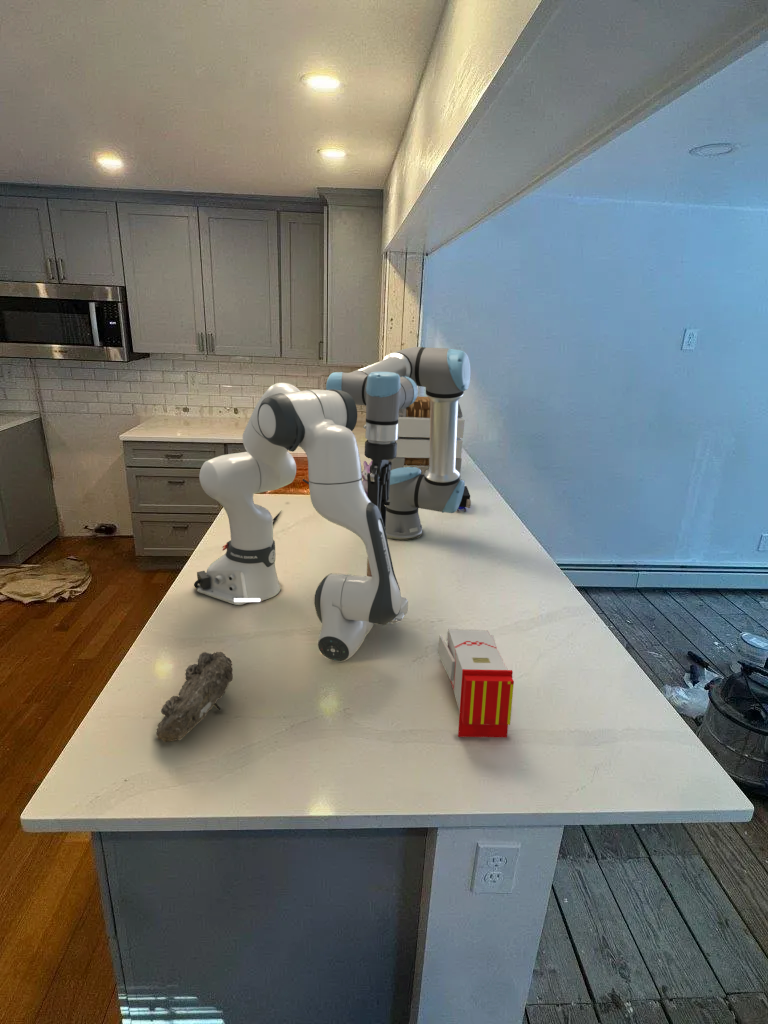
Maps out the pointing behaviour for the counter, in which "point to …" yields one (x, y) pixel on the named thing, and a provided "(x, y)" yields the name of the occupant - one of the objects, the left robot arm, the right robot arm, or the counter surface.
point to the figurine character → (465, 500)
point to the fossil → (195, 695)
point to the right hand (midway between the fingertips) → (377, 533)
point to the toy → (478, 682)
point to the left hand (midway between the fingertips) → (375, 588)
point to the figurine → (364, 476)
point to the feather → (275, 518)
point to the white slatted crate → (420, 435)
